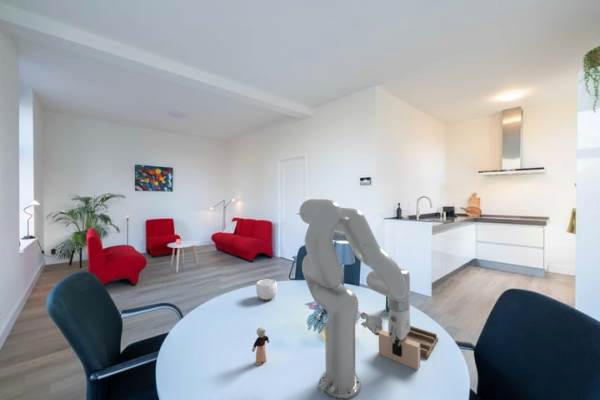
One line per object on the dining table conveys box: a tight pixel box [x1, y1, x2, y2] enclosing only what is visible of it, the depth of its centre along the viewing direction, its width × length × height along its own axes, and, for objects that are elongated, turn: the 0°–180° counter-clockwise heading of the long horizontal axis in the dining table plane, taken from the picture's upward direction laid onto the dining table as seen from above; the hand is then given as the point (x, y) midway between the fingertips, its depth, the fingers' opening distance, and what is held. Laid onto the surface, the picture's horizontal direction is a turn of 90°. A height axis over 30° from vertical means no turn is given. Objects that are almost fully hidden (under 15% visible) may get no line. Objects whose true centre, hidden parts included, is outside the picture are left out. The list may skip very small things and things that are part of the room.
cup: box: [255, 278, 278, 301], centre depth 150 cm, size 12×12×10 cm
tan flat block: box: [378, 329, 421, 371], centre depth 94 cm, size 3×14×8 cm, turn 49°
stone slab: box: [360, 311, 384, 335], centre depth 120 cm, size 18×2×10 cm
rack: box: [405, 325, 439, 360], centre depth 105 cm, size 16×16×2 cm
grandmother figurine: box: [251, 326, 271, 367], centre depth 94 cm, size 8×4×13 cm, turn 148°
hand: (398, 352), depth 94 cm, fingers closed on tan flat block, 2 cm apart
